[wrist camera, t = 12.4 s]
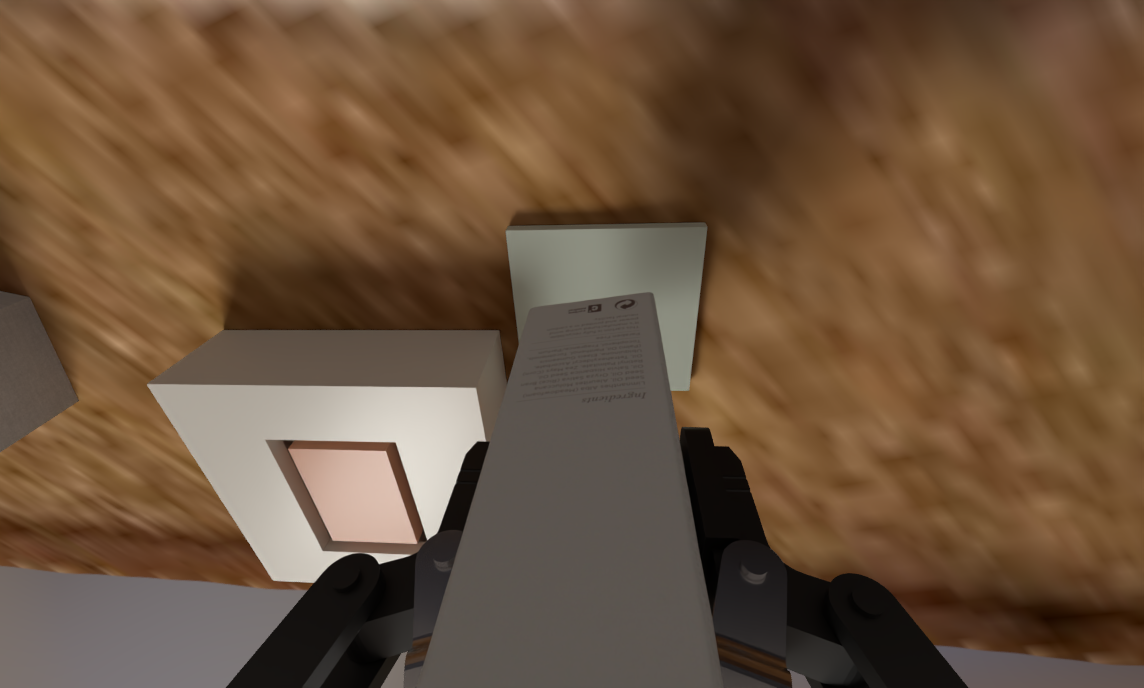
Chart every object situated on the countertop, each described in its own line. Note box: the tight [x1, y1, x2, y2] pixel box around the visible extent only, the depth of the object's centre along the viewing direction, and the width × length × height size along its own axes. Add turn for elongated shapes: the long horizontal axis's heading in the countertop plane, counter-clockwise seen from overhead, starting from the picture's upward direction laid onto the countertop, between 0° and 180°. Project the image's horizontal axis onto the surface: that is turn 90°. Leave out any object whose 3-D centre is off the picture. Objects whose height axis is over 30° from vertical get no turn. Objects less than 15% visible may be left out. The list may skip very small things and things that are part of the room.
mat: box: [506, 222, 707, 391], centre depth 21 cm, size 8×8×1 cm
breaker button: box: [288, 440, 423, 544], centre depth 24 cm, size 5×7×4 cm
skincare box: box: [416, 292, 723, 688], centre depth 12 cm, size 6×4×12 cm
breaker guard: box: [147, 330, 507, 583], centre depth 24 cm, size 14×14×4 cm
